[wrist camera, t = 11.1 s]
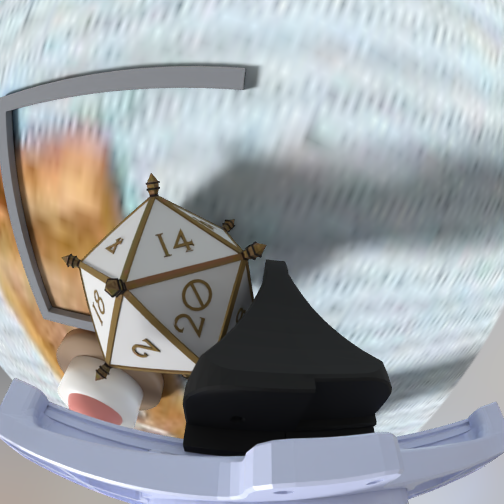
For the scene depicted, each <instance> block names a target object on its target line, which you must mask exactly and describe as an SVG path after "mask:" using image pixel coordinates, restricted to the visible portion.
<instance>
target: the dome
mask: <svg viewBox="0 0 504 504" xmlns="http://www.w3.org/2000/svg"><path fill="white" fill-rule="evenodd" d="M104 363H105V361H103V360H100V359H97V358H94V357H89V356H77V357H75V358H73V359H72V360H71V362H70V364H69V366H68V368H67V370H66V372H65V374H64V376H63V378H62V380H61V382H60V384H59V387H58V389H57V391H58V394H59V396H60V398H61V399H62V400H63V401H64V402H65V404H66V405H68V406H69V409H70V410H72V411H75V412H78V413H81V414H84V415H87V416H90V417H93V418H96V419H99V420H103V421H106V422H109V423H113V424H116V425H120V426H124V427H128V428H132V429H133V428H134V427H135V423H136V420H137V416H138V412H139V409H140V405H141V402H142V398H143V391H142V389H141V387H140V386H139V384H138V383H137V382H136V381H135V380H134V379H133V378H132V377H131V376H129V375H128V374H127V373H125V372H124V371H122V370H121V369H117V368H111V369H110V371H109V375H107V377H106V378H107V379H101V380H97V381H95V377H96V371H95V370H96V369H97V370H98V369H99V368H100V367H99V366H100V365H101V366H102V365H103V364H104Z"/></svg>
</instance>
